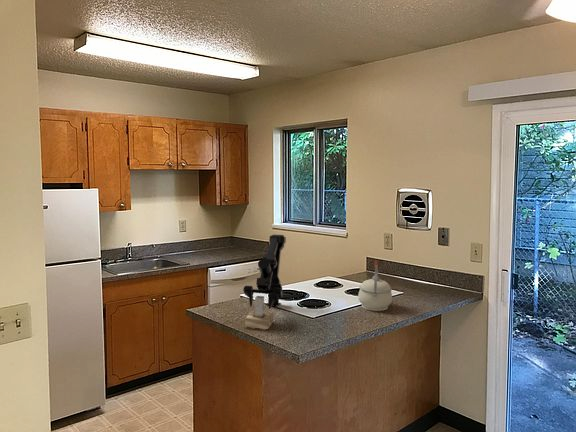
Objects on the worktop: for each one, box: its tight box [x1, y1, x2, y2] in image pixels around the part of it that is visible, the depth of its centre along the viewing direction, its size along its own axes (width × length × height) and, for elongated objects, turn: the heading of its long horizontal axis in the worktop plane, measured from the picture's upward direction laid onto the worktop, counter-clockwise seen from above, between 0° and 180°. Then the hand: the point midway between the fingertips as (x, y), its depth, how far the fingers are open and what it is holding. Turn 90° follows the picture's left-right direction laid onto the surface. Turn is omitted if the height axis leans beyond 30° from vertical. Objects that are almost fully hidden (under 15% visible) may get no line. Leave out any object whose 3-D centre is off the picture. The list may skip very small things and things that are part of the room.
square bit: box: [254, 295, 265, 318], centre depth 224 cm, size 4×4×13 cm
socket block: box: [244, 310, 274, 330], centre depth 224 cm, size 11×11×4 cm
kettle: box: [357, 259, 393, 312], centre depth 258 cm, size 25×18×25 cm
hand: (260, 307), depth 225 cm, fingers open, 9 cm apart
